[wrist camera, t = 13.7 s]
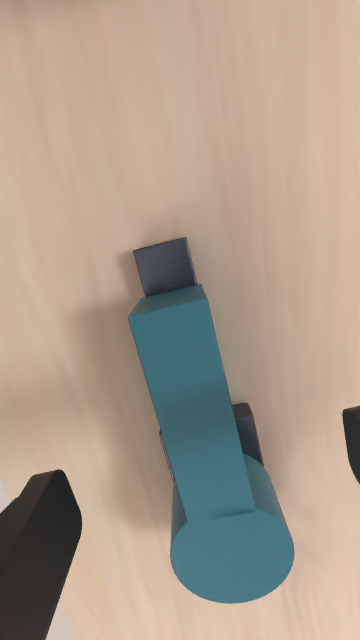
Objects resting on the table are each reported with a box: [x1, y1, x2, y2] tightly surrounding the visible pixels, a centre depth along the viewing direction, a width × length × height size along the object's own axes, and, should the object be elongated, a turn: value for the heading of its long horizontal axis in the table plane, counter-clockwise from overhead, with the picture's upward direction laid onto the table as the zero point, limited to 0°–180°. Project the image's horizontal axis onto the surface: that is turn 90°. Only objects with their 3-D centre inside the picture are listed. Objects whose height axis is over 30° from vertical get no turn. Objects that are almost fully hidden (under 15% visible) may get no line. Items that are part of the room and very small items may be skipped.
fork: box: [133, 237, 264, 482], centre depth 16 cm, size 16×5×1 cm, turn 14°
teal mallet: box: [128, 284, 294, 603], centre depth 14 cm, size 14×5×4 cm, turn 14°
